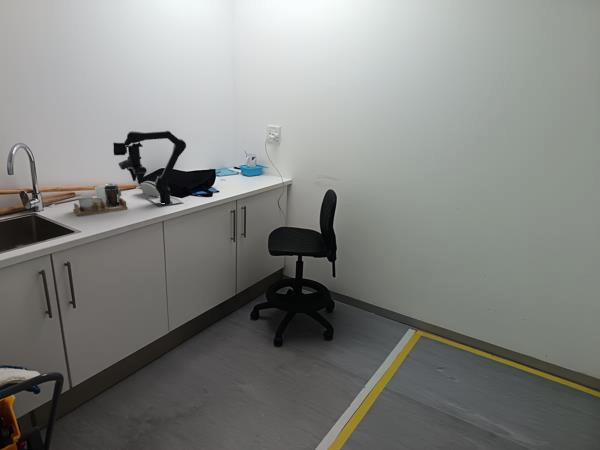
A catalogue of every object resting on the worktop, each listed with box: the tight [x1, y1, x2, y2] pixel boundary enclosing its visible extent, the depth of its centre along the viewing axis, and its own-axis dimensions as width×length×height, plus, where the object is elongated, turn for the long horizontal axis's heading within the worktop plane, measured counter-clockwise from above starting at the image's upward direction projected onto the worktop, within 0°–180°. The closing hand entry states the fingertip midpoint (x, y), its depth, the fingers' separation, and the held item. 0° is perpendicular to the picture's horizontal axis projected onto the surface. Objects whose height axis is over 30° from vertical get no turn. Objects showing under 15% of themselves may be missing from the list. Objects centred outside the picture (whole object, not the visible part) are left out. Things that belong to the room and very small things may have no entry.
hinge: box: [139, 180, 160, 198], centre depth 252 cm, size 17×5×10 cm, turn 55°
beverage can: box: [104, 182, 120, 207], centre depth 220 cm, size 7×7×12 cm
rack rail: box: [72, 196, 129, 217], centre depth 218 cm, size 10×25×8 cm, turn 129°
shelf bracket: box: [94, 184, 122, 203], centre depth 234 cm, size 6×25×13 cm, turn 50°
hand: (136, 182), depth 228 cm, fingers open, 9 cm apart
